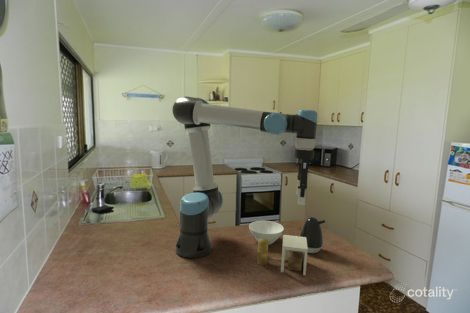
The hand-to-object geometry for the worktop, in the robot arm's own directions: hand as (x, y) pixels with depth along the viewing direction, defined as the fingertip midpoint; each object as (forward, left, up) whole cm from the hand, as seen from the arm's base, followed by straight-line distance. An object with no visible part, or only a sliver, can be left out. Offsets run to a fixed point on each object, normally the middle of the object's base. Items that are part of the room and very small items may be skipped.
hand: (300, 199), depth 117 cm
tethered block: (-7, -12, -24) cm, 27 cm away
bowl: (-14, +8, -24) cm, 29 cm away
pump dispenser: (+6, +4, -24) cm, 25 cm away
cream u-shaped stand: (-1, -12, -24) cm, 26 cm away
